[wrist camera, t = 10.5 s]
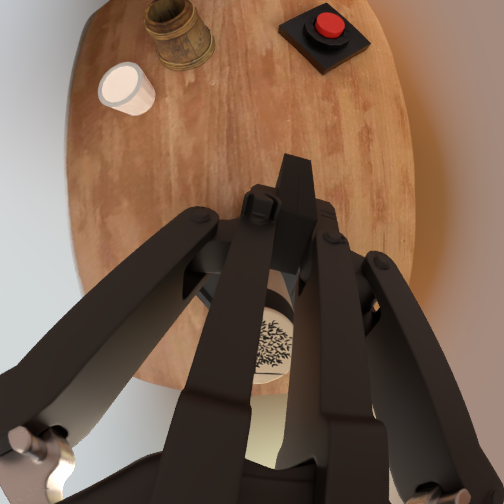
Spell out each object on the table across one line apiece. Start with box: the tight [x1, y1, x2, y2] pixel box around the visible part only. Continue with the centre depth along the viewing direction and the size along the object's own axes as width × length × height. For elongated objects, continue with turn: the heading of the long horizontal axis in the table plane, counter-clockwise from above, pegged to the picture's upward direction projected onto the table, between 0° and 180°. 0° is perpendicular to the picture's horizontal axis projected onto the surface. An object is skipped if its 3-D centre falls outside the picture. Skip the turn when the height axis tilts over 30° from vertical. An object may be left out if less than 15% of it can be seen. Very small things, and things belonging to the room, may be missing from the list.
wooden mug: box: [144, 0, 215, 70], centre depth 26 cm, size 9×14×18 cm, turn 5°
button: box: [315, 13, 345, 38], centre depth 30 cm, size 4×4×2 cm
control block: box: [278, 3, 371, 75], centre depth 32 cm, size 10×10×4 cm
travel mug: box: [253, 269, 294, 384], centre depth 32 cm, size 8×8×18 cm
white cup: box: [98, 62, 156, 116], centre depth 33 cm, size 7×7×7 cm
